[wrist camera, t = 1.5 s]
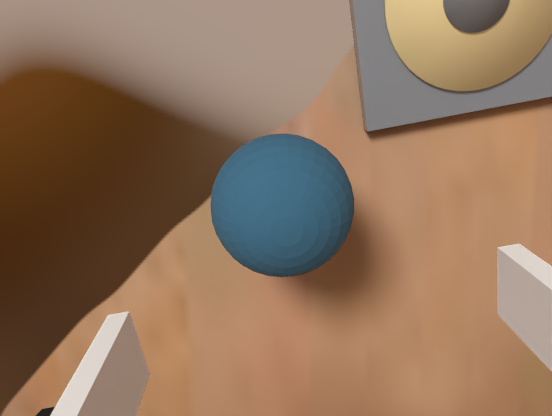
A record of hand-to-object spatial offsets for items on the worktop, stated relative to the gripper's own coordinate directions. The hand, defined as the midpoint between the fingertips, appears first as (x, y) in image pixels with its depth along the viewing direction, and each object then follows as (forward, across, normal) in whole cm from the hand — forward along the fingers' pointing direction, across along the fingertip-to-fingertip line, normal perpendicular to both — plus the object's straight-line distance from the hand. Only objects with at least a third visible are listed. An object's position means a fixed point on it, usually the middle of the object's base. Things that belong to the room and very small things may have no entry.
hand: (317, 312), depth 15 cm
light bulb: (+19, -1, 0) cm, 19 cm away
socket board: (+19, +14, +10) cm, 26 cm away
